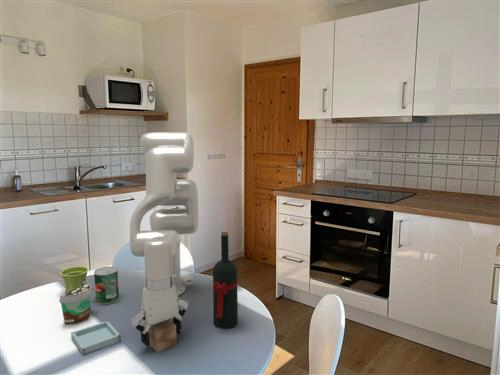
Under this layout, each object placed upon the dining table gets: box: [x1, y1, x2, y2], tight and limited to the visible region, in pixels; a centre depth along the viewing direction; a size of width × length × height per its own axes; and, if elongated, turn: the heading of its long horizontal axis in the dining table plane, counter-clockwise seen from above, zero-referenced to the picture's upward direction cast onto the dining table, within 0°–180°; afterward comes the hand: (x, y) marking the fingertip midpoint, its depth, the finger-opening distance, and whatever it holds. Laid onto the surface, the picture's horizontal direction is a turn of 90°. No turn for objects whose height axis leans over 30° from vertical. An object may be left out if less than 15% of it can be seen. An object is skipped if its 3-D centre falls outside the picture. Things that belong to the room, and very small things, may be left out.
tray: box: [70, 320, 122, 356], centre depth 111 cm, size 11×11×2 cm
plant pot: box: [60, 265, 89, 295], centre depth 142 cm, size 9×9×9 cm
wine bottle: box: [212, 229, 239, 330], centre depth 118 cm, size 8×10×30 cm
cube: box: [148, 319, 178, 353], centre depth 109 cm, size 6×6×6 cm
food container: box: [58, 281, 94, 325], centre depth 123 cm, size 12×6×10 cm, turn 168°
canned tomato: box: [93, 266, 120, 305], centre depth 136 cm, size 8×8×11 cm
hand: (161, 337), depth 109 cm, fingers open, 9 cm apart
